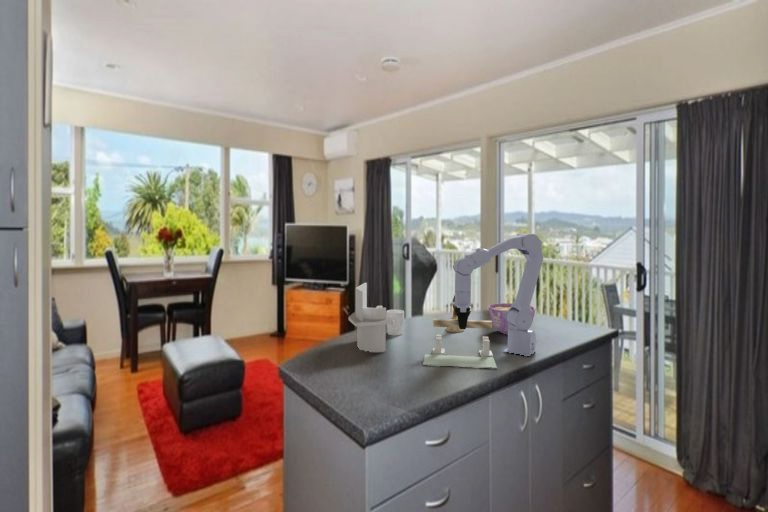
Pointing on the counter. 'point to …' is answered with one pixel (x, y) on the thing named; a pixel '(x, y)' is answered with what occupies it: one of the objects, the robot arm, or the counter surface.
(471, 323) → the oak rail
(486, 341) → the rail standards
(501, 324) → the bowl of food
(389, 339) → the counter surface
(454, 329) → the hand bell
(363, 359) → the counter surface
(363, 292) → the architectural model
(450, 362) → the green mat
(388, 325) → the white cup
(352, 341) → the counter surface
